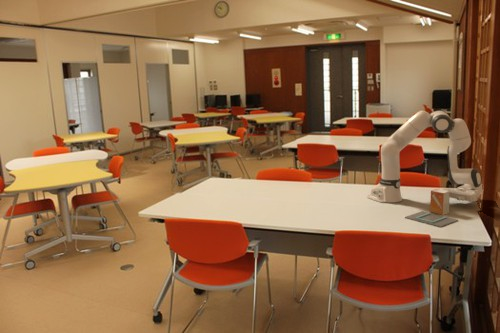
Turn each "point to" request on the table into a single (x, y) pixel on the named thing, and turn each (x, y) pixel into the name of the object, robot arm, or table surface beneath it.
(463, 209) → the table surface
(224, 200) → the table surface
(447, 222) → the plate
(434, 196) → the small box
